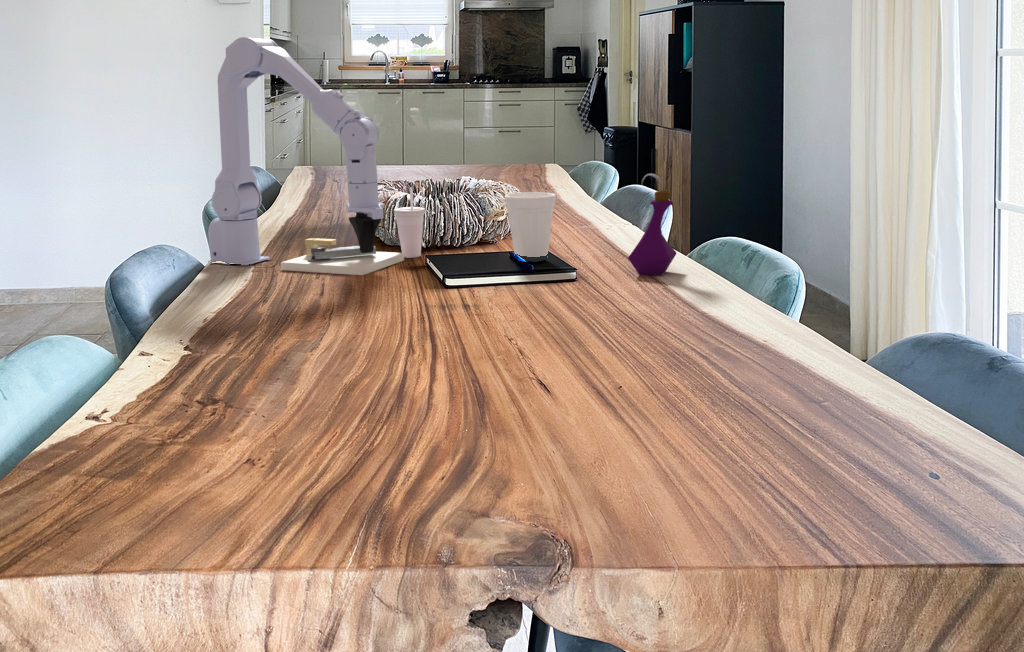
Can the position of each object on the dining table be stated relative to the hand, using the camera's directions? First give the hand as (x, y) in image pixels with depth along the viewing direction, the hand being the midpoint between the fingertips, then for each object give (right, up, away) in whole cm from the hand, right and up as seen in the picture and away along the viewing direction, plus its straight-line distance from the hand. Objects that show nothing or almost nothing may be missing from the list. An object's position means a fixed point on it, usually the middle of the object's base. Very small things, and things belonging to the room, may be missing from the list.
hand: (367, 252), depth 197 cm
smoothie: (+8, 0, +10) cm, 12 cm away
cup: (+32, -2, +1) cm, 32 cm away
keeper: (-9, -1, +3) cm, 10 cm away
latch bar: (-5, -1, 0) cm, 5 cm away
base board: (-5, -2, +1) cm, 5 cm away
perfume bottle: (+54, -5, -13) cm, 56 cm away
